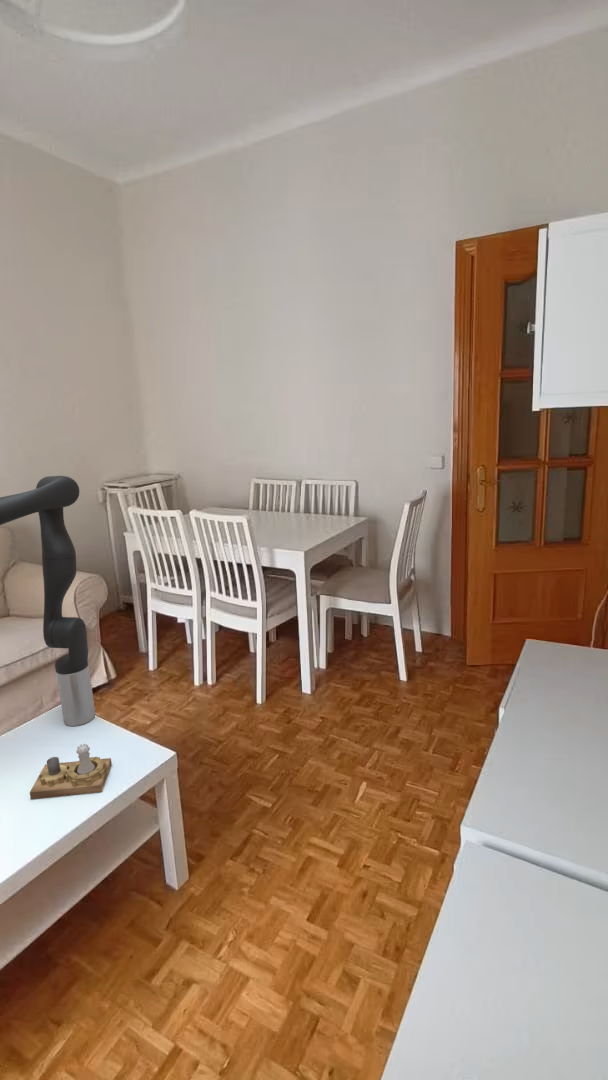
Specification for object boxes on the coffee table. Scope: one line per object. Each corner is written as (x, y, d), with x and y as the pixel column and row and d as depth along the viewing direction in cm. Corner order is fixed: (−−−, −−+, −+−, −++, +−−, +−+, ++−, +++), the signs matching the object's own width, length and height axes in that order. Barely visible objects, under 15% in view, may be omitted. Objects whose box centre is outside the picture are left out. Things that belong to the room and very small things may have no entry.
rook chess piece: (89, 780, 139) (85, 752, 137) (73, 778, 140) (69, 751, 138) (99, 769, 143) (95, 742, 141) (84, 767, 144) (79, 740, 142)
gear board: (46, 770, 147) (42, 747, 145) (112, 764, 148) (109, 741, 147) (30, 799, 136) (26, 774, 134) (101, 792, 138) (98, 767, 136)
